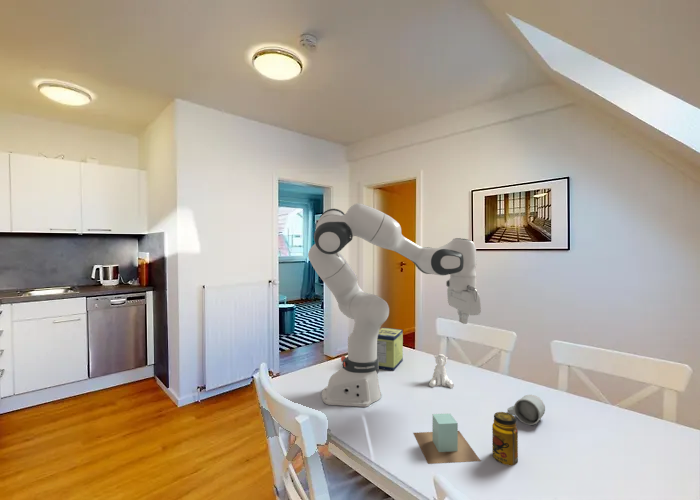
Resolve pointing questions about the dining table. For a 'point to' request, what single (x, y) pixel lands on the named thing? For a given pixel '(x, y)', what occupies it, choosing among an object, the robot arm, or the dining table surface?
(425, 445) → the board
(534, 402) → the ceramic mug
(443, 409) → the dining table surface
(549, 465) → the dining table surface
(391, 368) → the protein box
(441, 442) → the mint green upright block
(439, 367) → the white creature statuette
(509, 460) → the condiment
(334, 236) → the robot arm
